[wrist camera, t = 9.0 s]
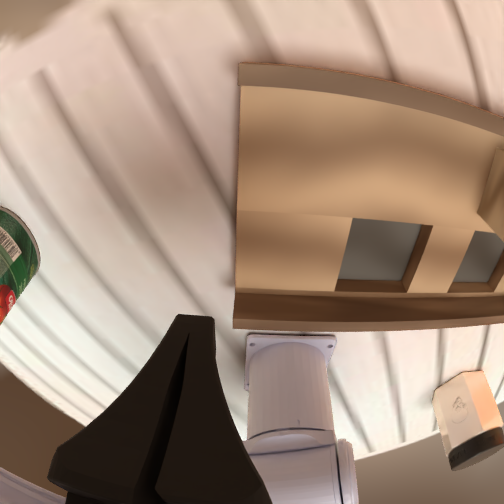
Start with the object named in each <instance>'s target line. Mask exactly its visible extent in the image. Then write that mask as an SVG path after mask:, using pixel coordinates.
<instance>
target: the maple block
mask: <svg viewBox="0 0 504 504" xmlns="http://www.w3.org/2000/svg"><path fill="white" fill-rule="evenodd" d="M477 214H478V215H479V216H480V217H481V218H482V219H483V220H484V221H485V222H486V223H487V224H488V225H489V227H490V228H491V229H492V230H493V231H494V232H495V233H496V234H497V235H498V236H499V238H500V239H501V240H502V241H503V242H504V150H503V149H500V148H497V149H496V153H495V156H494V160H493V164H492V167H491V171H490V174H489V177H488V181H487V184H486V187H485V190H484V193H483V196H482V199H481V202H480V205H479V208H478V210H477Z"/></svg>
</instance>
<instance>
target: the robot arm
mask: <svg viewBox="0 0 504 504" xmlns="http://www.w3.org/2000/svg"><path fill="white" fill-rule="evenodd" d="M336 343H337V340H336V337H333V336H281V335H255V334H252V335H249V336H247V346H246V364H245V382H244V389H245V390H246V391H249V398H248V424H247V440H246V441H242V440H241V438H240V435H239V433H238V431H237V429H236V426H235V424H234V421H233V419H232V416H231V414H230V411H229V408H228V405H227V402H226V399H225V396H224V393H223V389H222V385H221V382H220V378H219V374H218V369H217V364H216V358H215V357H216V341H215V322H214V318H212V317H210V316H197V315H184V314H178V315H177V316H176V317H175V319H174V321H173V323H172V324H171V326H170V328H169V330H168V331H167V333H166V335H165V336H164V338H163V339H162V341H161V342H160V344H159V345H158V347H157V348H156V350H155V351H154V353H153V354H152V356H151V357H150V359H149V360H148V361H147V363H146V364H145V365H144V367H143V368H142V369H141V371H140V372H139V373H138V375H137V376H136V377H135V378H134V380H133V381H132V382H131V383H130V384H129V386H128V387H127V388H126V389H125V390H124V391H123V392H122V393H121V395H120V396H119V397H118V398H117V399H116V400H115V401H114V402H113V403H112V404H111V405H110V406H109V407H108V408H107V409H106V410H105V411H104V412H103V413H101V414H100V415H99V416H98V417H97V418H96V419H94V420H93V421H92V422H91V423H90V424H89V425H87V426H86V427H85V428H84V429H82V430H81V431H80V432H79V433H77V434H76V435H74V436H73V437H71V438H70V439H69V440H67V441H66V442H64V443H63V444H61V445H60V446H59V447H57V450H56V452H55V454H54V456H53V459H52V462H51V466H50V469H49V473H48V476H47V478H48V480H49V481H50V482H52V483H53V484H56V485H57V486H59V487H61V488H63V489H64V490H66V491H68V493H67V498H65V497H62V496H60V495H57V494H55V493H52V492H50V491H48V490H45V489H43V488H41V487H38V486H36V485H34V484H32V483H30V482H28V481H26V480H24V479H22V478H20V477H17V476H16V475H14V474H12V473H10V472H8V471H6V470H4V469H3V468H1V467H0V504H359V501H358V489H357V480H356V471H355V463H354V455H353V448H352V444H351V443H349V442H348V441H347V442H346V439H339V440H338V442H337V439H336V435H335V432H334V423H333V415H332V407H331V399H330V391H329V384H328V377H327V370H326V369H327V366H328V364H329V361H330V359H331V356H332V353H333V351H334V348H335V346H336Z"/></svg>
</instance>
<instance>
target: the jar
mask: <svg viewBox="0 0 504 504" xmlns="http://www.w3.org/2000/svg"><path fill="white" fill-rule="evenodd" d="M432 405H433V408H434V412H435V415H436V419H437V422H438V426H439V429H440V433H441V437H442V441H443V444H444V448H445V453H446V456H448V458H449V463H450V466H451V470H452V471H457V470H460V469H464V468H466V467H469V466H471V465H474V464H476V463H478V462H480V461H482V460H484V459H486V458H488V457H489V456H491V455H493V454H494V453H496V452H497V451H499V450H500V449H501V448H503V447H504V434H503V431H502V426H503V421H502V418H501V415H500V413H499V410H498V407H497V405H496V402H495V399H494V397H493V394H492V392H491V389H490V387H489V384H488V382H487V379H486V377H485V375H484V372H483V371H473V372H462V373H460V374H459V375H457V376H456V377H454V378H453V379H451V380H450V381H448V382H446V383H445V384H443V385H442V386H440V387H438V388H437V389H436V390H435V393H434V397H433V401H432Z"/></svg>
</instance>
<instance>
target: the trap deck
mask: <svg viewBox="0 0 504 504" xmlns="http://www.w3.org/2000/svg"><path fill="white" fill-rule="evenodd" d="M238 86H241V98H240V125H239V155H238V188H237V228H236V277H235V300H234V311H233V329H251V330H274V331H314V332H362V331H401V330H423V329H440V328H454V327H467V326H478V325H489V324H498V323H504V242H503V241H502V240H501V239H500V238H499V236H498V235H497V234H496V233H495V232H494V231H493V230H492V229H491V228H490V227H489V225H488V224H487V223H486V222H485V221H484V220H483V219H482V218H481V217H480V216H479V215H478V214H477V210H478V208H479V205H480V202H481V199H482V196H483V193H484V190H485V187H486V184H487V181H488V177H489V174H490V171H491V167H492V164H493V160H494V156H495V153H496V149H497V148H500V149H503V150H504V118H503V117H501V116H499V115H496V114H494V113H491V112H489V111H486V110H484V109H481V108H479V107H476V106H473V105H470V104H468V103H465V102H462V101H459V100H456V99H453V98H450V97H447V96H444V95H441V94H437V93H434V92H431V91H427V90H424V89H420V88H416V87H413V86H409V85H405V84H401V83H397V82H393V81H388V80H384V79H379V78H374V77H370V76H364V75H359V74H354V73H348V72H342V71H335V70H329V69H321V68H314V67H305V66H295V65H284V64H271V63H253V62H242V63H240V64H239V67H238Z"/></svg>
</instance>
